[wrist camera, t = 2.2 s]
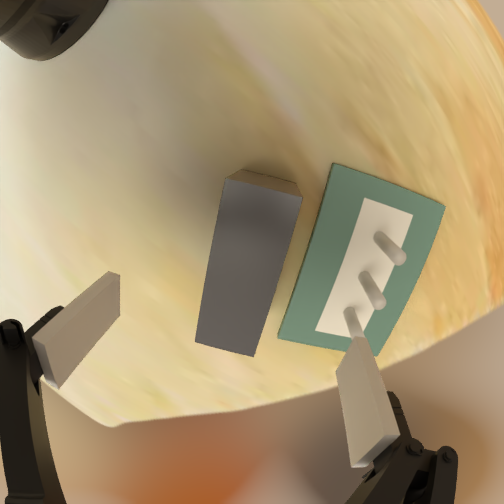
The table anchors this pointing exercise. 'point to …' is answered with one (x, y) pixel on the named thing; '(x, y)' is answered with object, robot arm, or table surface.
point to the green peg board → (360, 262)
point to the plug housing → (246, 259)
